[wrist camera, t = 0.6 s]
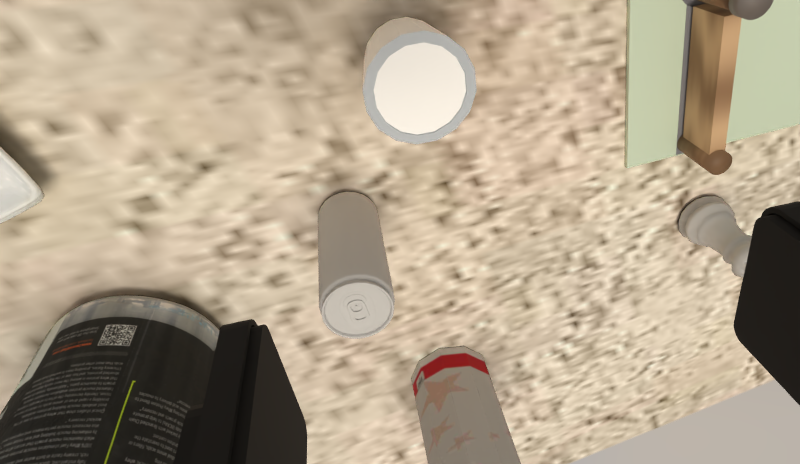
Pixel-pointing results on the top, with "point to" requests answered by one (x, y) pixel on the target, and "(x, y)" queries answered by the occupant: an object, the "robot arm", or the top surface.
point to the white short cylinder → (416, 81)
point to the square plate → (16, 188)
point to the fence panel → (749, 8)
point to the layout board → (668, 72)
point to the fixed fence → (710, 85)
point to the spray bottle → (460, 410)
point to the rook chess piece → (716, 230)
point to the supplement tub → (110, 385)
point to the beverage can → (353, 267)
